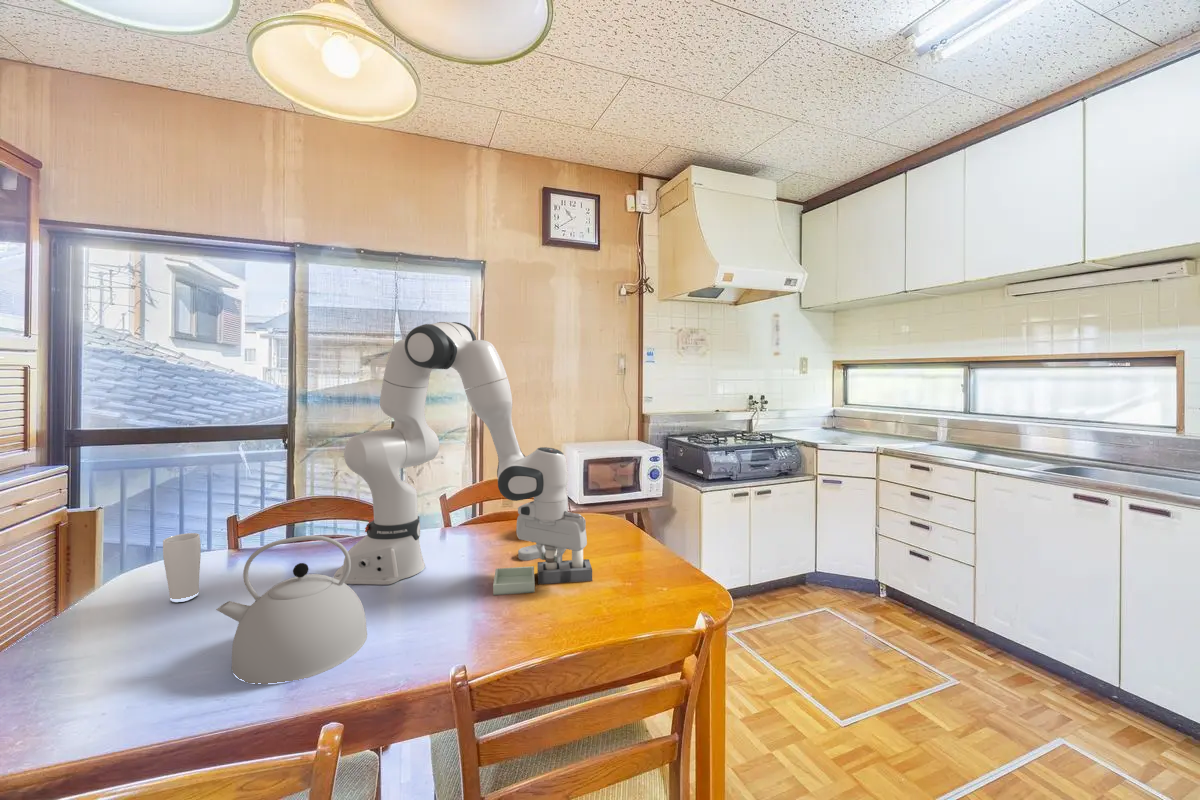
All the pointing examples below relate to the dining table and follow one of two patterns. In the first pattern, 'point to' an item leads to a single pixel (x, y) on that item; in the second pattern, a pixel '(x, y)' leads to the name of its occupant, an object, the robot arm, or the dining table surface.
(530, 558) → the electronic device
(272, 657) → the kettle
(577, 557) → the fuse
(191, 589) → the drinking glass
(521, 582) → the parts tray
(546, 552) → the cylinder
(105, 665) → the dining table surface
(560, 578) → the socket block
